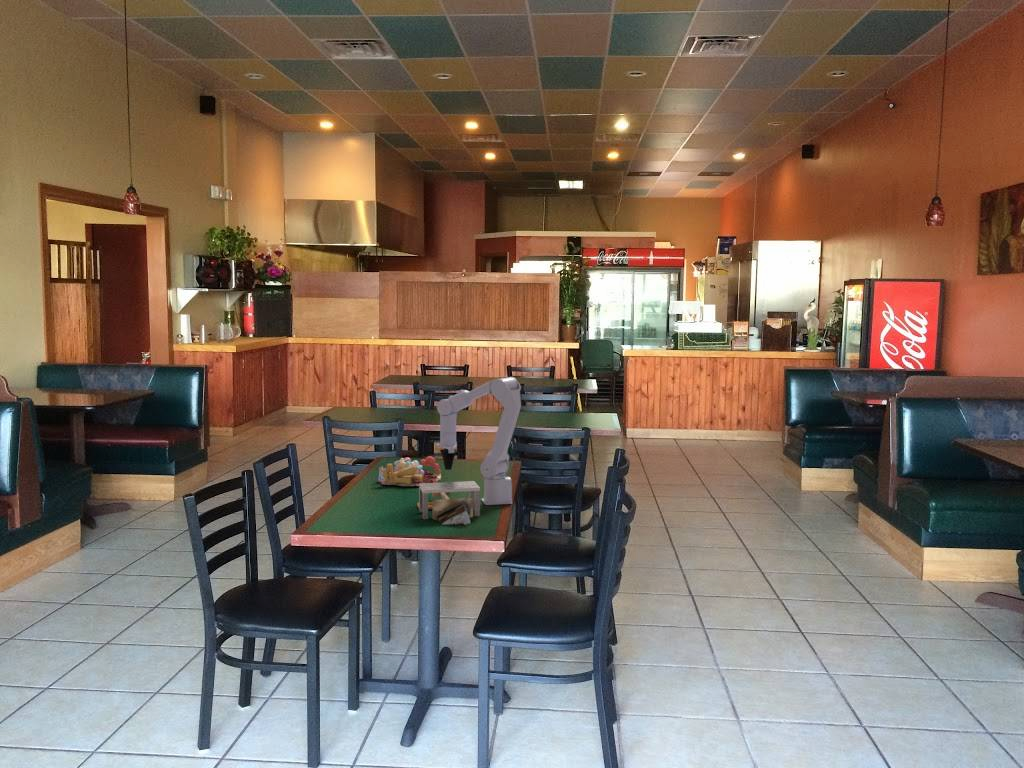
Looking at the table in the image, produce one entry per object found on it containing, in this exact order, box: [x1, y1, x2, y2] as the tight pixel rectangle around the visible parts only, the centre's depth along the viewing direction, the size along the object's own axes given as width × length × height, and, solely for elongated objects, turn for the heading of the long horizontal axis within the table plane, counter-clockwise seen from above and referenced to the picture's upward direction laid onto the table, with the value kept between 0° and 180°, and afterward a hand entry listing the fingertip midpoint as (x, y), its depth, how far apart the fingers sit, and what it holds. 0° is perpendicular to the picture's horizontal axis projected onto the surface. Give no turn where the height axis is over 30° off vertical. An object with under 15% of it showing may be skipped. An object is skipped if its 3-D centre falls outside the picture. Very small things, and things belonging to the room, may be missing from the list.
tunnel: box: [418, 480, 481, 520], centre depth 268 cm, size 19×10×10 cm, turn 104°
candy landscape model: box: [377, 455, 442, 487], centre depth 316 cm, size 25×24×9 cm
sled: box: [431, 492, 474, 520], centre depth 273 cm, size 13×25×6 cm, turn 14°
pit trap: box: [416, 501, 432, 511], centre depth 277 cm, size 18×6×1 cm, turn 104°
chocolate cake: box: [434, 499, 471, 527], centre depth 257 cm, size 10×7×12 cm
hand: (448, 469), depth 293 cm, fingers closed
